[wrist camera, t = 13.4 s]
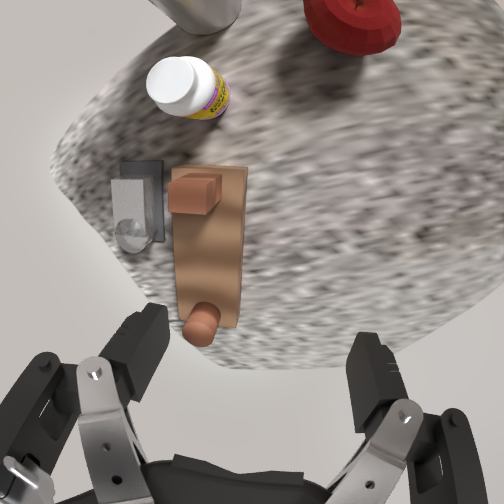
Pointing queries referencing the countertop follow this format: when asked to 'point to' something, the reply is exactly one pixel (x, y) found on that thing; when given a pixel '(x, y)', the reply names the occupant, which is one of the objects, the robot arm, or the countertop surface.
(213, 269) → the plane body
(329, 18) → the apple
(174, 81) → the supplement bottle
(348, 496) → the robot arm
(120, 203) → the lever cap
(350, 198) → the countertop surface
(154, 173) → the rubber mat
